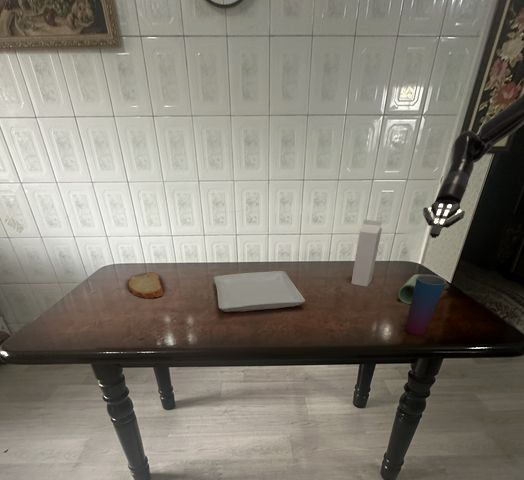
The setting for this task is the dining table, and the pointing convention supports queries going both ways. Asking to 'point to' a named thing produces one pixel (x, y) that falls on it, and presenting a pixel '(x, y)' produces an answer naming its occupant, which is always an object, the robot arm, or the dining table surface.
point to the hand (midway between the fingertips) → (433, 236)
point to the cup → (424, 302)
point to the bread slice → (146, 285)
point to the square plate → (256, 291)
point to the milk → (366, 252)
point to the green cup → (408, 290)
